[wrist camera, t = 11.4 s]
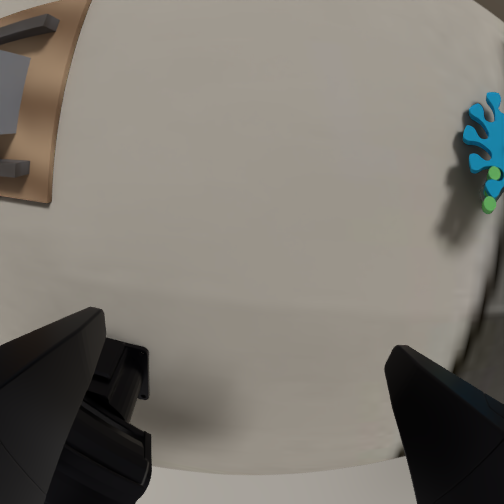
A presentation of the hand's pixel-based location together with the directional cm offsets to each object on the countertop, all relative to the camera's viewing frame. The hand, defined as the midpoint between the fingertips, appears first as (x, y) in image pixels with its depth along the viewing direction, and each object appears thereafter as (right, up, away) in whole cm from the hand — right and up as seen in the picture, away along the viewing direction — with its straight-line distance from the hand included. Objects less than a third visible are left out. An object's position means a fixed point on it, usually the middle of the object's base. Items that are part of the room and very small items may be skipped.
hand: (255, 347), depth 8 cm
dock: (-20, +15, +7) cm, 26 cm away
